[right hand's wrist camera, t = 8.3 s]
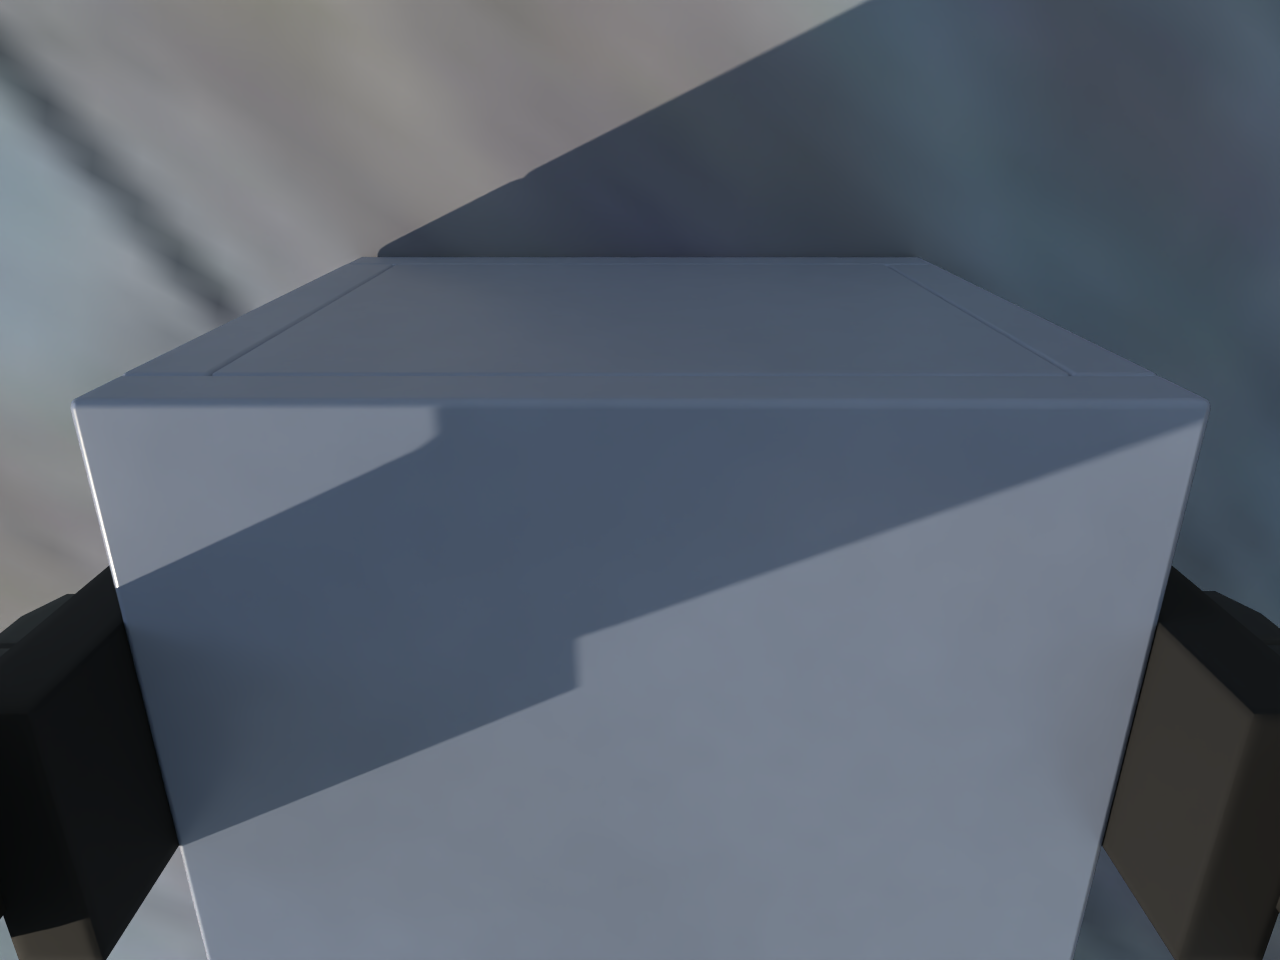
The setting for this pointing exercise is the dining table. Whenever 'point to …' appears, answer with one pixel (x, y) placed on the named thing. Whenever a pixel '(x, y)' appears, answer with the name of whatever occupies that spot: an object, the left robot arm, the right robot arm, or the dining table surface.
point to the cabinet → (640, 608)
